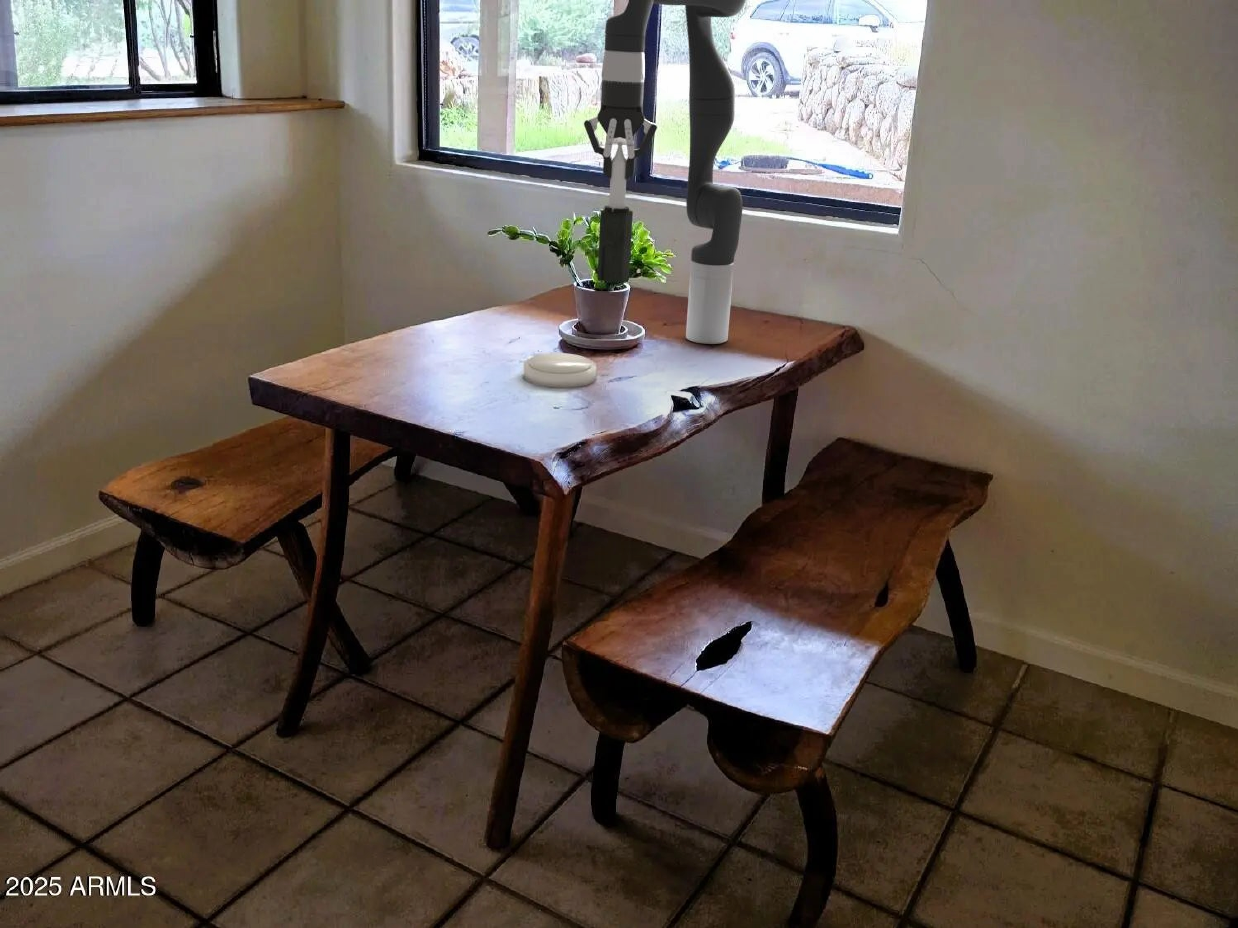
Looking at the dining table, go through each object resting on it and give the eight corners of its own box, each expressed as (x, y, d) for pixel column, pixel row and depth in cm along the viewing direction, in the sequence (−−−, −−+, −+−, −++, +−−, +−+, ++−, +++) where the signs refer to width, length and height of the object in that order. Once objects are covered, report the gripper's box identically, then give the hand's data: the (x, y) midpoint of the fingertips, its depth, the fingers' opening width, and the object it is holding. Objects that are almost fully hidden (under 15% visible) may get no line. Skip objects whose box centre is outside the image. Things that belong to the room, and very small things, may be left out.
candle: (631, 279, 213) (638, 142, 204) (620, 283, 209) (627, 144, 200) (606, 275, 215) (613, 140, 206) (595, 279, 211) (601, 142, 202)
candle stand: (528, 364, 224) (528, 349, 223) (598, 368, 223) (599, 353, 222) (518, 385, 211) (519, 370, 210) (593, 389, 210) (593, 374, 209)
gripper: (662, 80, 203) (656, 178, 209) (585, 76, 203) (581, 174, 209) (662, 82, 196) (656, 183, 202) (582, 77, 196) (578, 179, 202)
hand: (618, 178), depth 205 cm, fingers closed on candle, 3 cm apart
